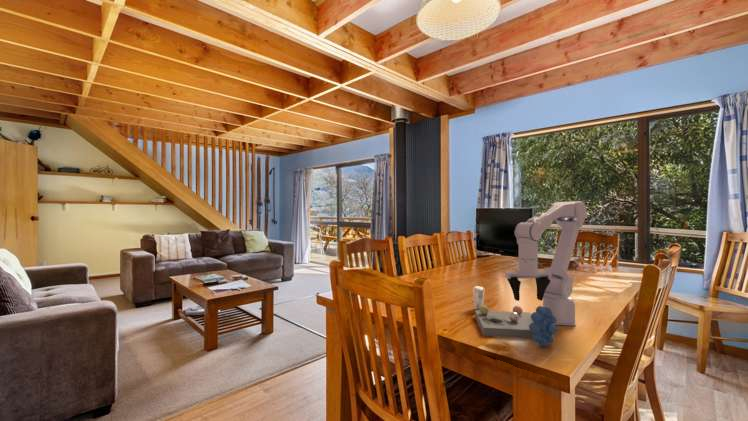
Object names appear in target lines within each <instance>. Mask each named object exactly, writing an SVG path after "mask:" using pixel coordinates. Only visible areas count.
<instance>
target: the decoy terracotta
mask: <svg viewBox="0 0 748 421" xmlns="http://www.w3.org/2000/svg"><path fill="white" fill-rule="evenodd" d="M512 312H516V313H518V315H521V314H522V312H524V310H523V308H522V307H521V306H520V305H515V306H513V308H512Z"/></svg>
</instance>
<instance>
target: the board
mask: <svg viewBox="0 0 748 421" xmlns="http://www.w3.org/2000/svg"><path fill="white" fill-rule="evenodd" d="M511 312H512V311H505V310H502V311H501V310H489V312H488V313H487V314H485V315H484V314H482V313H481V312H480V310H475V309H474V317H475V320H476V322H477V324H478V327H479V328H480V331H481V334H482V336H484V337H486V336H487V337H501V338H503V337H506V338H520V339H521V338H522V339H532V334H533V332H531V330H530V328H529V325H530V324H531V323H533V320H532V319H531V314H532V313H531V312H527V311H526V312H525V311H523V312H522V314H521V315H519V317H520V318H519V321H517V322H512V321H511V320H510V318H509V314H510V313H511Z"/></svg>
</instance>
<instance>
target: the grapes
mask: <svg viewBox="0 0 748 421" xmlns="http://www.w3.org/2000/svg"><path fill="white" fill-rule="evenodd" d="M552 314H553V313H552V311H551V309H550V308H548V307H545V308H544V307H543V305H539V306H537V307H536V308H535V311H534V312H532V313H531V319H532V320H533V323H531V324H530V325H529V328H530V330H531V332H533V334H532V338H531V339H532V340H533V342H535V343H536V344H538V345H539V346H540V347H542V348H546V347H547V346H548V345H550V344H552V343H553V342H554V341H555V340H554V339H555V338H554V337H553V336H554V335H556V334H557V333H558V332H559V329H558V327H557V325H554V324H555V323H556V322H557V320H556V318H555V317H554V316H553V315H552Z"/></svg>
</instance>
